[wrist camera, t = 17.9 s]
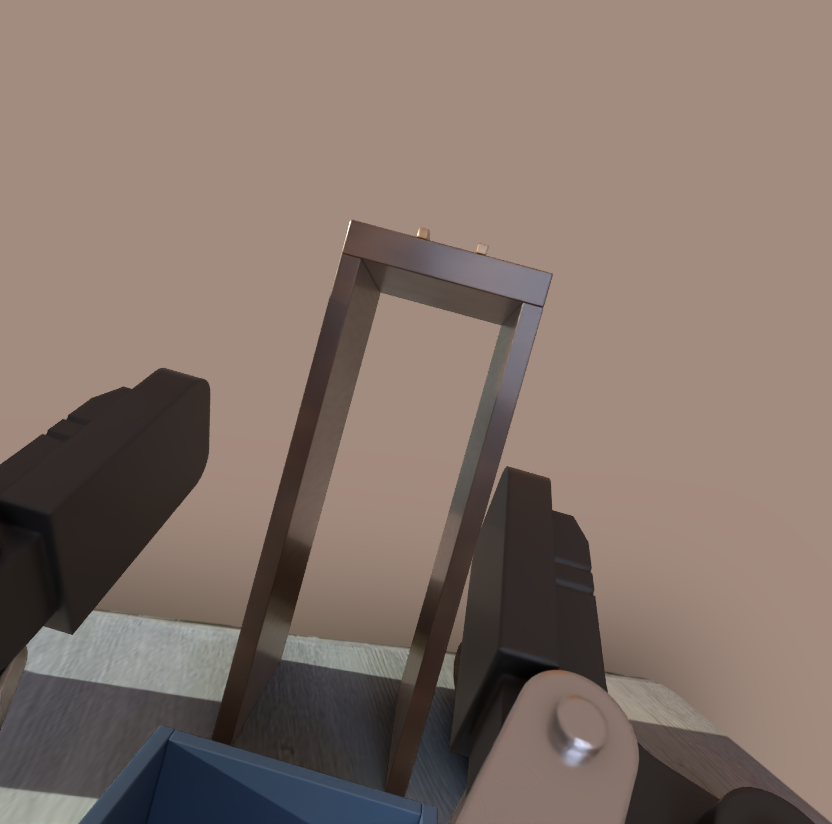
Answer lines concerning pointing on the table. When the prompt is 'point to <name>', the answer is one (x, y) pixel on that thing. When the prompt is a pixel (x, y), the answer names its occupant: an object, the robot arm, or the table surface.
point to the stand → (320, 437)
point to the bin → (239, 790)
